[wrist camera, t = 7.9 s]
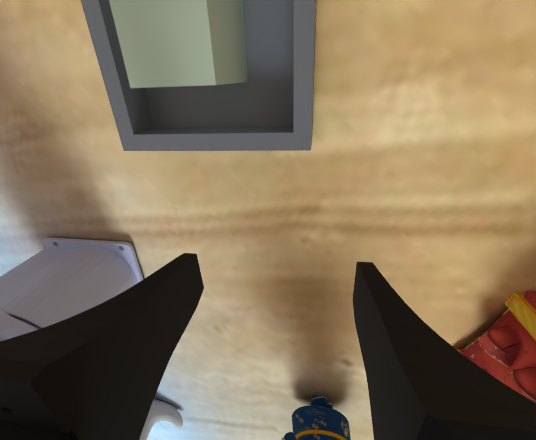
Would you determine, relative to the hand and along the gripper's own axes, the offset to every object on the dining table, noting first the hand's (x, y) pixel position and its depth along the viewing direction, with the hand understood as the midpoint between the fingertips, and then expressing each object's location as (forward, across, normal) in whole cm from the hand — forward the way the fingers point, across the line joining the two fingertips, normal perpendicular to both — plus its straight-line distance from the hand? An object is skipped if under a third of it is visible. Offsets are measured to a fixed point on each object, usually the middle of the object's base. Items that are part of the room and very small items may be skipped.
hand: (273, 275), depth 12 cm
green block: (+9, +4, -10) cm, 14 cm away
